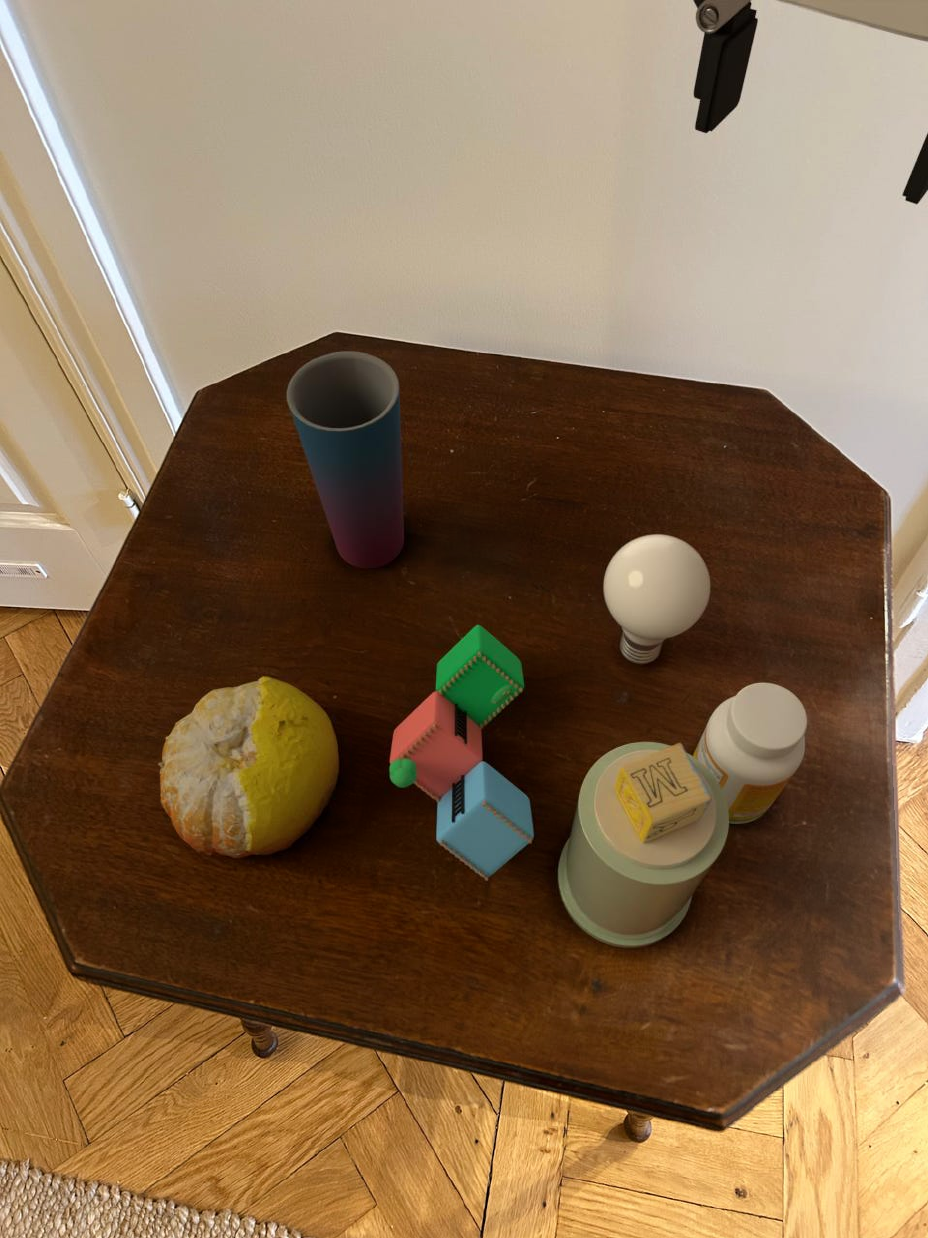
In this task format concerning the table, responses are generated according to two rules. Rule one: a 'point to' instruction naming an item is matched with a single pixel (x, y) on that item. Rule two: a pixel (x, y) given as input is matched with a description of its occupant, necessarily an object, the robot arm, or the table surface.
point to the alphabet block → (662, 792)
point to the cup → (353, 451)
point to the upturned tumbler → (634, 858)
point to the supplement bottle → (754, 747)
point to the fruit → (249, 769)
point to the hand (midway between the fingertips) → (814, 151)
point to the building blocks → (466, 754)
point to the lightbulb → (655, 593)
